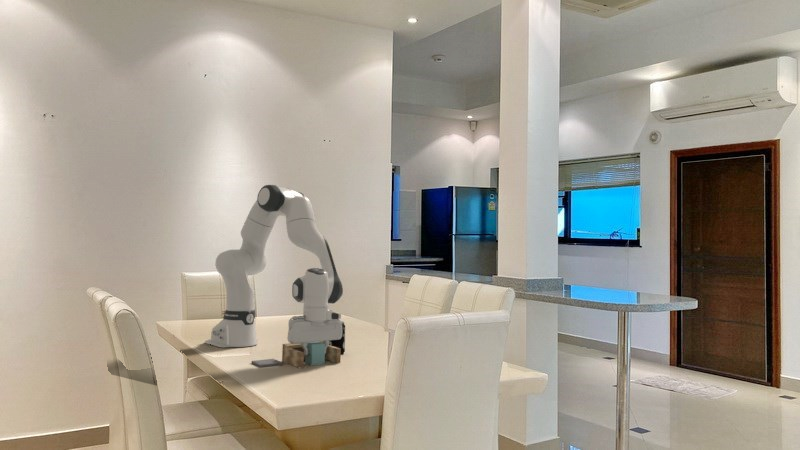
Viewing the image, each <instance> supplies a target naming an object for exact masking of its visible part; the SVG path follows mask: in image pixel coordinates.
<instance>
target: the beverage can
mask: <svg viewBox="0 0 800 450" xmlns="http://www.w3.org/2000/svg"><path fill="white" fill-rule="evenodd" d="M340 321H341V320H340ZM341 322H342V338H341V339H339V340H329V345H331V346H334V347H337V348H341V355H343V354H344V353H345V351H346V347H345V346H346V325H345V322H344V321H341Z"/></svg>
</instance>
